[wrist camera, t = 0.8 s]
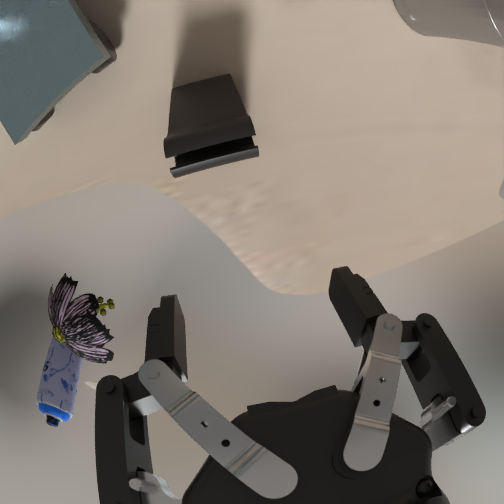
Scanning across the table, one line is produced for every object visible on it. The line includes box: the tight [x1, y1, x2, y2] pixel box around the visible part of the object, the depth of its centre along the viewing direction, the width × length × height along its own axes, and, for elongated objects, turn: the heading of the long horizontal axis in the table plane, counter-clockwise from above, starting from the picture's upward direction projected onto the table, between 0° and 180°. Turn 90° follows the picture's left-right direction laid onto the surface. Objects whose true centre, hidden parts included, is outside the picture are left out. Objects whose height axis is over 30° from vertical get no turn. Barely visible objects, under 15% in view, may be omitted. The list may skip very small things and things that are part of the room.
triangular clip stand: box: [164, 74, 259, 178], centre depth 21 cm, size 9×6×12 cm, turn 11°
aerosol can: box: [37, 336, 83, 427], centre depth 36 cm, size 8×8×20 cm
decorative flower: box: [48, 273, 115, 363], centre depth 35 cm, size 15×12×15 cm
